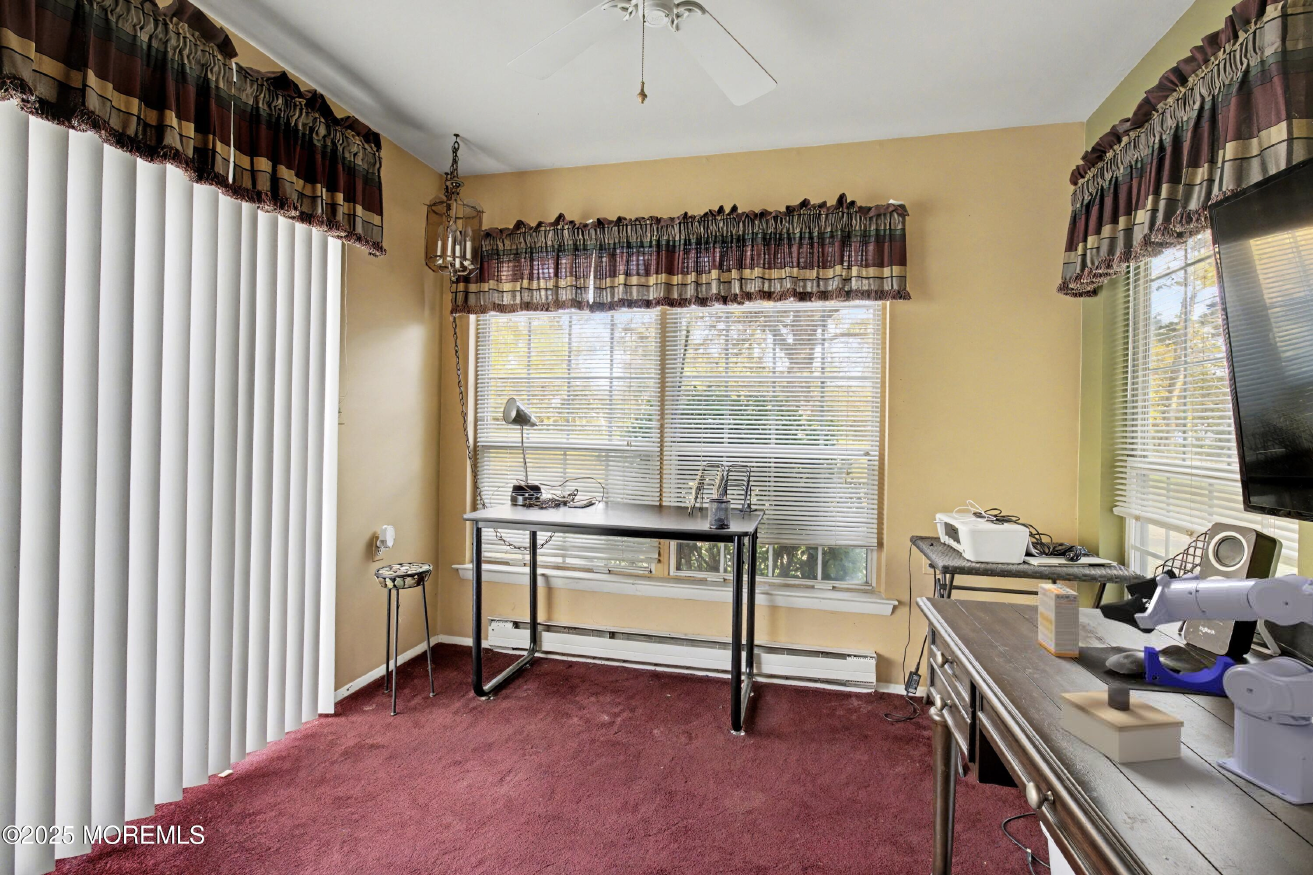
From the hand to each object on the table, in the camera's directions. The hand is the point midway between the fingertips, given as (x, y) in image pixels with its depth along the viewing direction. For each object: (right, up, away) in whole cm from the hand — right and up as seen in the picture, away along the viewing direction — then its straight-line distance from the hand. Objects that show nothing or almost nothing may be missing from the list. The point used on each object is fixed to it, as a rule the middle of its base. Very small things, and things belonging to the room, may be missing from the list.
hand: (1116, 600), depth 100 cm
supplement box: (+8, -18, +27) cm, 33 cm away
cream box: (-7, -18, -9) cm, 22 cm away
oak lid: (-7, -14, -10) cm, 18 cm away
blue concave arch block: (+20, -18, +10) cm, 29 cm away
